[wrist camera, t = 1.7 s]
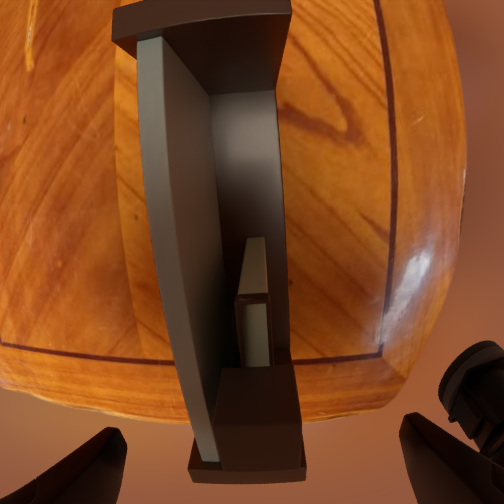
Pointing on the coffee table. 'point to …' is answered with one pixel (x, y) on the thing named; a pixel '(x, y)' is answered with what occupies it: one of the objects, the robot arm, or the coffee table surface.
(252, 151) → the window frame
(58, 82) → the coffee table surface
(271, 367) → the pane
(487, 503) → the robot arm
